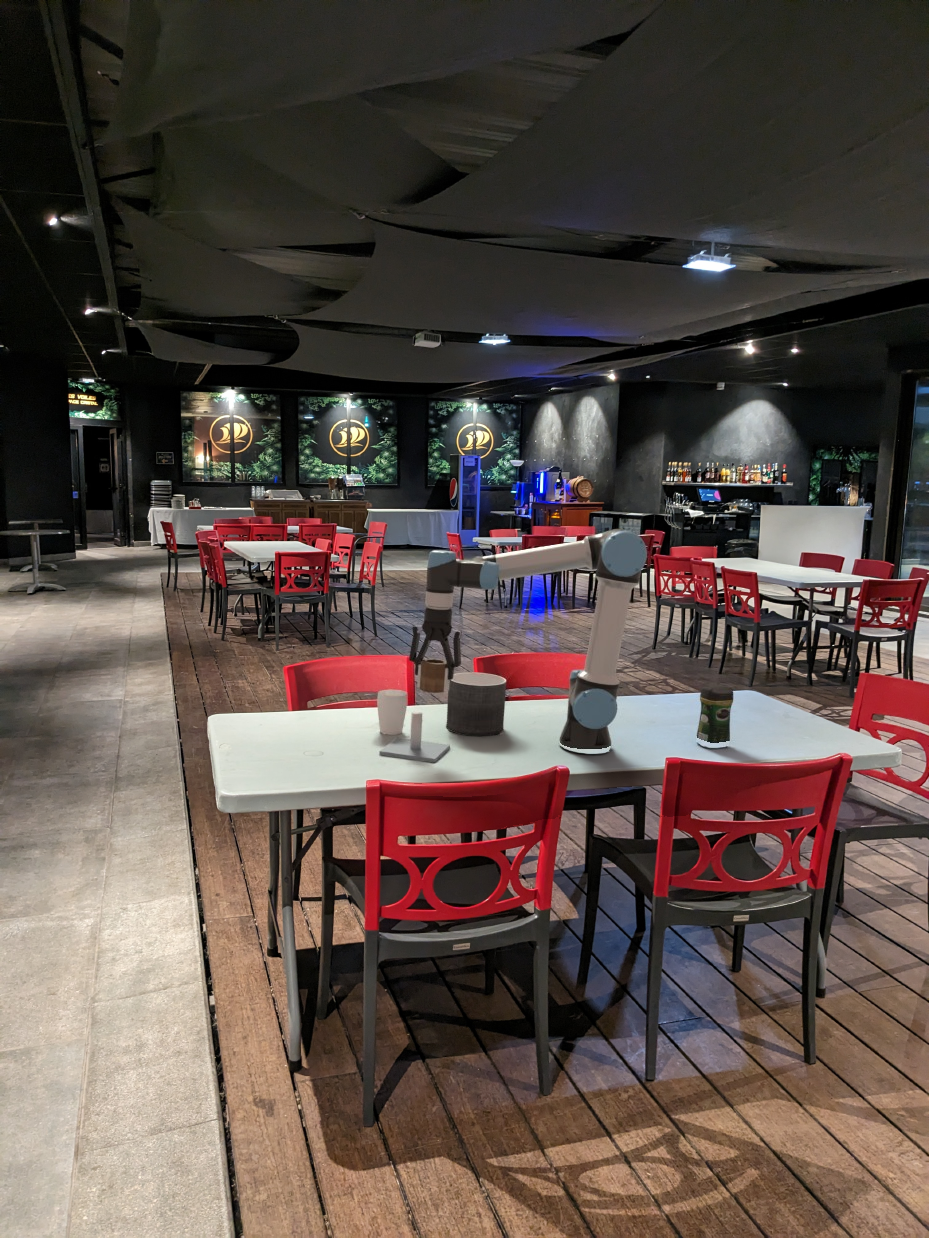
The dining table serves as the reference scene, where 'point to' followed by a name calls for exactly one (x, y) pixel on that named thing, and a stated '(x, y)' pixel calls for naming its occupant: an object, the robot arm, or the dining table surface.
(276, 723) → the dining table surface
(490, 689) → the planter
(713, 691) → the coffee jar
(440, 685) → the collar
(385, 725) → the cup
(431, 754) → the post block
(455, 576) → the robot arm
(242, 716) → the dining table surface
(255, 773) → the dining table surface
